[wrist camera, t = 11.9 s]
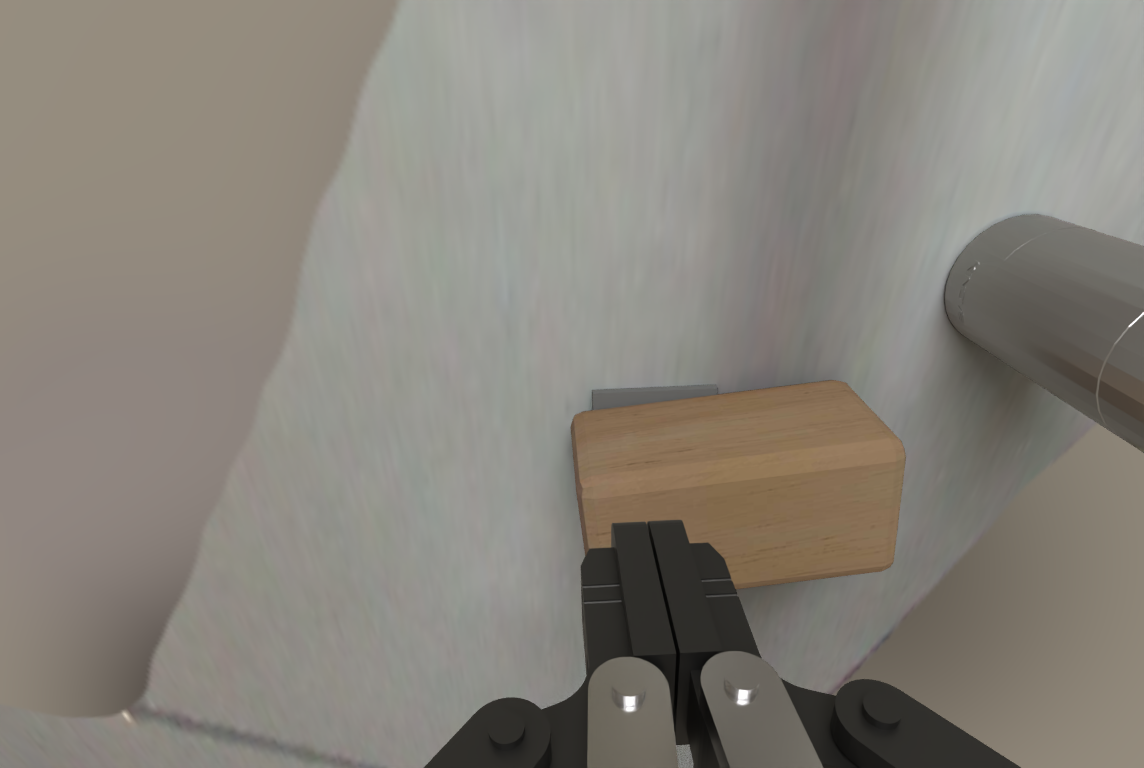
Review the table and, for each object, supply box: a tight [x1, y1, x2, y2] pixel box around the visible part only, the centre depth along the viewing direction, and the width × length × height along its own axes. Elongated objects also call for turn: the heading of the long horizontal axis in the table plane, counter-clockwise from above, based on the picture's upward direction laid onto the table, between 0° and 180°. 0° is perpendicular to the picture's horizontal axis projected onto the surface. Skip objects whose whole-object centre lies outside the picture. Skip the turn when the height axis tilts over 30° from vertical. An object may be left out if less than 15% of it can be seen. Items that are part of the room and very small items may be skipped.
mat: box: [592, 385, 718, 410], centre depth 51 cm, size 9×13×1 cm
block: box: [571, 380, 906, 589], centre depth 46 cm, size 10×10×20 cm
